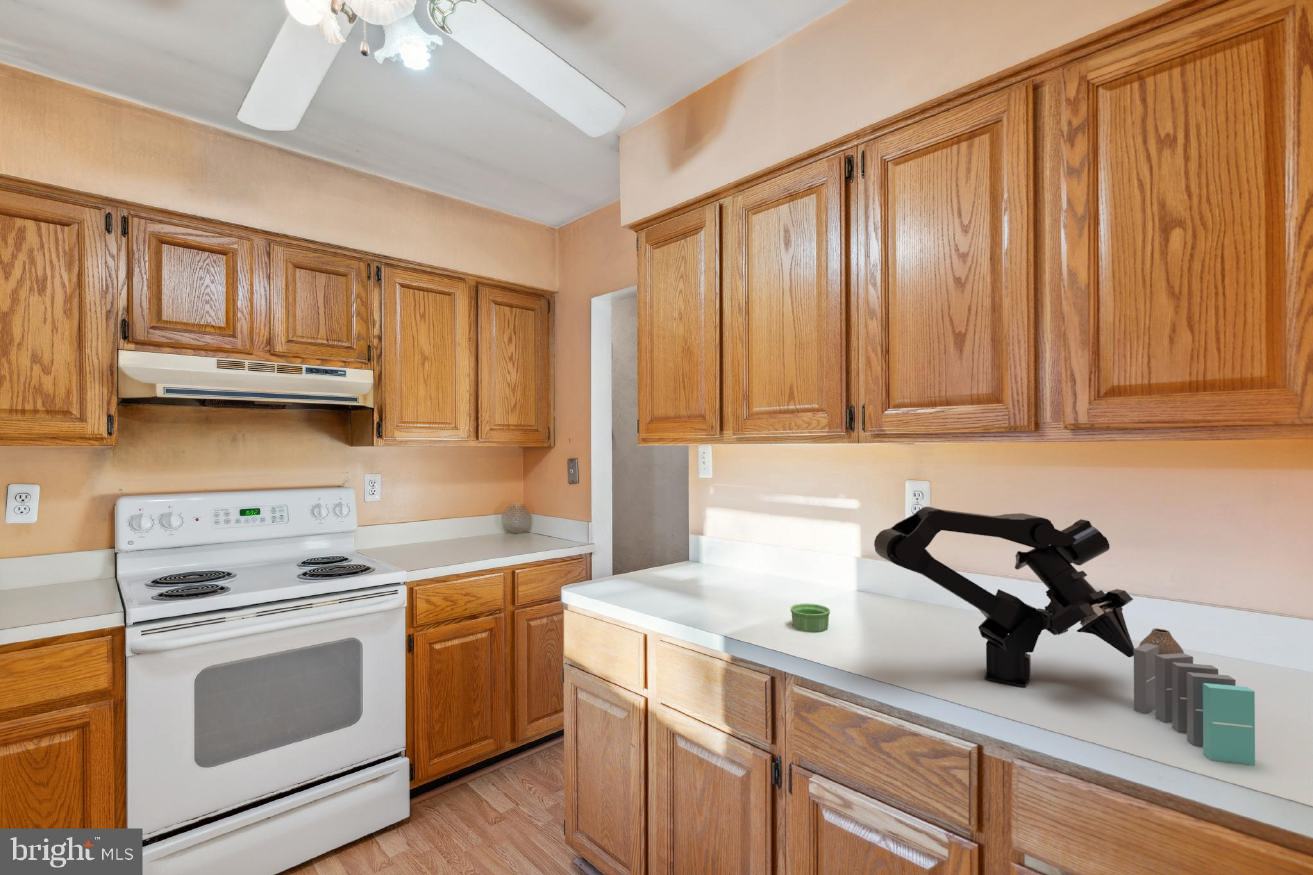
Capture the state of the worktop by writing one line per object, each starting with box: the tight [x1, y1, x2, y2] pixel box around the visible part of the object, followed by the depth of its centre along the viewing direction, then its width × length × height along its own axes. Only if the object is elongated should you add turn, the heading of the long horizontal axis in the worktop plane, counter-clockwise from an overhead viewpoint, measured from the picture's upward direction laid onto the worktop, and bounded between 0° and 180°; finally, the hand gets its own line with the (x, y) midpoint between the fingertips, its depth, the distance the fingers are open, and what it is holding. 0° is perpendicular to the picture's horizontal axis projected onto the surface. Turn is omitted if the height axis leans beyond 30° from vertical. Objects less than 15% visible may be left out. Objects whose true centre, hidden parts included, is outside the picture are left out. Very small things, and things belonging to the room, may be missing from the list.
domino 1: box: [1133, 643, 1158, 715], centre depth 99 cm, size 2×5×10 cm, turn 122°
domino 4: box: [1186, 672, 1237, 748], centre depth 87 cm, size 2×5×10 cm, turn 74°
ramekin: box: [790, 603, 831, 633], centre depth 142 cm, size 9×9×4 cm
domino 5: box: [1202, 683, 1256, 766], centre depth 83 cm, size 2×5×10 cm, turn 74°
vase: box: [1138, 627, 1185, 655], centre depth 111 cm, size 7×7×9 cm
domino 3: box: [1171, 662, 1219, 734], centre depth 91 cm, size 2×5×10 cm, turn 74°
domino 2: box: [1154, 652, 1194, 724], centre depth 95 cm, size 2×5×10 cm, turn 97°
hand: (1132, 655), depth 100 cm, fingers closed
